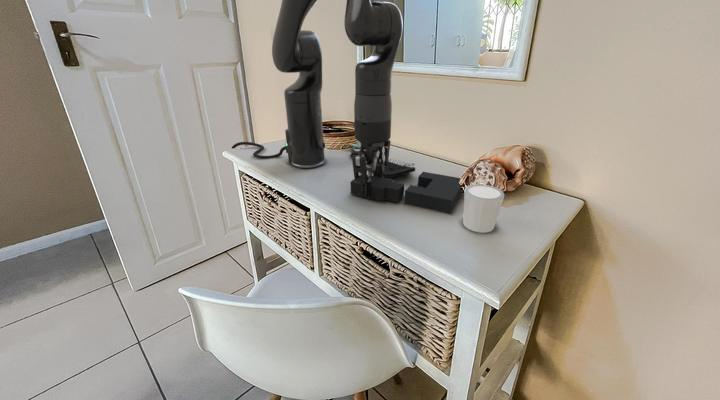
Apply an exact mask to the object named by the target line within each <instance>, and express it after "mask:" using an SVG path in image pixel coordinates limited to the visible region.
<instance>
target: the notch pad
mask: <svg viewBox="0 0 720 400" xmlns="http://www.w3.org/2000/svg"><path fill="white" fill-rule="evenodd" d="M417 176H418V177H417V185H413V184H410V185H409V186H407V188H406V189H404V197H403V198H404V199H403V200H404V202H403V203H404V204H406V205H410V206H415V207H420V208H424V209H429V210H433V211H437V212H442V213H446V214H452V212H453V210H454V209H455V207H456V205H457V203H458V202H459V200H460V198H461V196H462V195H463V194H464V191H463V190H462V192H461V187H462V185H460V184H459V183H458V182H459V180H460V178H461V177H457V176H450V175H446V174H439V173H434V172H428V171H422V172H421V173H420V174H419V175H417Z"/></svg>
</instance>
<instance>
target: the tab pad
mask: <svg viewBox="0 0 720 400" xmlns="http://www.w3.org/2000/svg"><path fill="white" fill-rule="evenodd" d="M367 176H368V174H367ZM349 183H350V195H353V196H358V197H361V198H364V197H363V196H361V182H359V181H355V179H352V180H351V181H350V182H349ZM404 197H405V183H402V182H397V181H394V179H392V178H388V177H383V178H382V177H377V176H373V175H372V178H371V196H370V197H369V198H367V197H365V198H367V199H371V200H375V201H379V202H384V201H389V202H393V203H399V202H400V200H402V198H404Z"/></svg>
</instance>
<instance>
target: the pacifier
mask: <svg viewBox="0 0 720 400" xmlns="http://www.w3.org/2000/svg"><path fill="white" fill-rule="evenodd" d="M348 145H349V146H351V147H353V152H356V151H360V147H361V143H360V142H359V141H358V140H356V143H350V142H349V143H348Z"/></svg>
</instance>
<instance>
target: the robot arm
mask: <svg viewBox="0 0 720 400" xmlns="http://www.w3.org/2000/svg"><path fill="white" fill-rule="evenodd" d="M318 1H319V0H281V5H280V8H279V14H278V16H277V20H276V24H275V28H274V33H273V36H272V44H271V56H272V60H273V61H272V62H273V64H274V67H275V68H276V69H277V70H278V71H279V72H281V73H284V74H295V73H299V74H298V78H297V79H296V80H295V81H294V82H293V83H292V84H290V85H289V86H287V87H286V88H285V89H284V92H283V97H284V106H285V113H286V124H287V128H286V129H285V140H286V141H285V143H284V145H285V146H283V147H281V148H280V150H279V152H278V153H276V154H271V155H260V154H259V153H261V152H262V151H263V150H265V147H264V145H262V144H259V143H255V142H251V141H239V142H236V143H235V144H233V145H232V146H231V149H232V150H233V149H236V148H237V147H239V146H253V147H257V148H258V149H256V150H255V151H254V152H253V153H252V156H253V157H254V158H256V159H261V160H268V159H275V158H279V157H281V156H282V155H283V153H284V151H285V153H286V154H287V157H288V158H287V160H288V164H290V165H291V166H293V167H295V168H297V169H298V168H299V169H312V168H313V169H314V168H318V167H321V166H322V165H324V164H325V163H326V158H325V148H326V143H325V141H324V128H323V112H322V90H323V51H322V45H321V41H320V38H319V37H318V35H317V34H316V33H315V32H314V31H312V30H302V27H303V24H304V21H305V19H306V17H307V15H308V14H309V12H310V11H311V9H312V8H313V7H314V6H315V5H316V4H317V2H318ZM403 21H404V20H403V16H402V13H401V10H400V9H399V7H398V6H397V5H396V4H395V3H393V2H390V1H372V0H346V3H345V9H344V19H343V24H344V31H345V35H346V36H347V38H348V40H349V41H350V42H351V43H352V44H353V45H354V46H357V47H373V50H372V52H371V55H370V56H369V57H367V58H365V59H363V60H360V61H358V62H357V63H356V65H355V68H354V89H355V90H354V104H353V115H354V121H353V123H354V138H355V140H356V141H357V140H358V141H359V142H360V143H361V147H360V154H359V155H358V156H356V155H353V156H351V162H352V171H353V176H354V179H355V181H359V182H361V196H360V197H362V196H363V197H362V198H366V197H367V199H370V198H369V197H370V196H371V178H372V176H377V177H382V178H384V177H383V171H384V170H385V166H387V165H388V161H389V160H390V159H389V157H390V149H391V140H390V139H391V137H392V136H391V135H392V112H393V111H392V110H393V103H392V101H393V100H392V74H393V73H392V72H393V69H394V68H393V67H394V65H395V62H396V61H395V60H396V58H397V54H398V51H399V46H400V43H401V39H402V35H403V29H404V23H403ZM367 175H368V176H367ZM354 179H353V180H354Z"/></svg>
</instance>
